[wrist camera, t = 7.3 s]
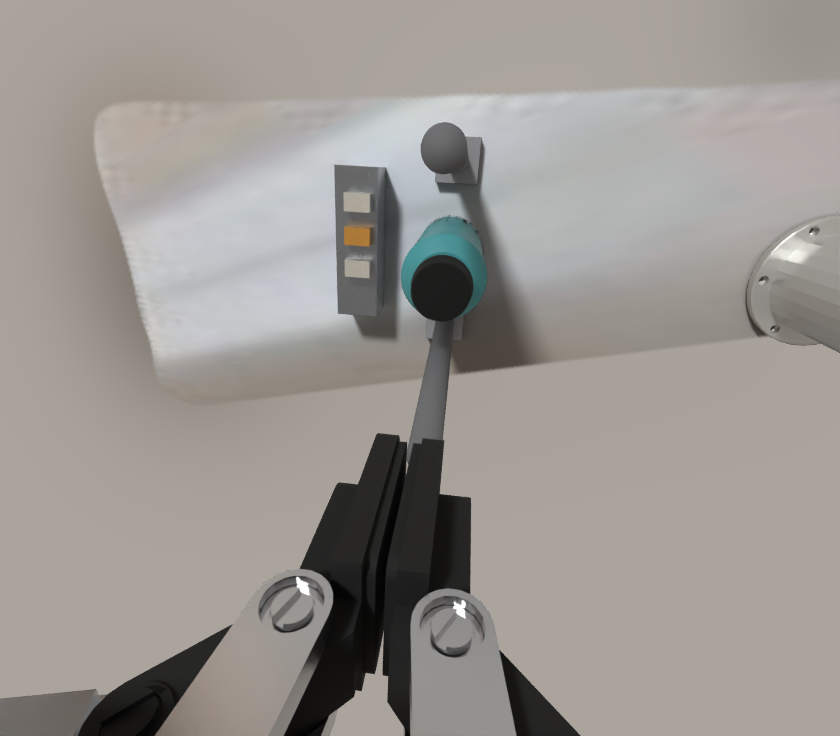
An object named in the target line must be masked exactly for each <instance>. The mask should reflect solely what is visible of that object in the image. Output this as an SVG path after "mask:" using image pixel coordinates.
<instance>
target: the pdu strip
mask: <svg viewBox="0 0 840 736" xmlns="http://www.w3.org/2000/svg"><path fill="white" fill-rule="evenodd" d="M334 166H335V208H336V250H337V292H338V314H349V315H361V316H373V317H376V316H377V315H378V313H379V312H380V310H381V308H382V307H383V283H384V231H385V180H386V168H383V167H366V166H349V165H334Z"/></svg>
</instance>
